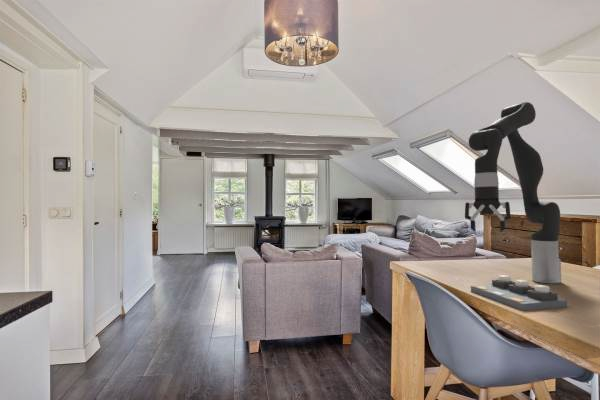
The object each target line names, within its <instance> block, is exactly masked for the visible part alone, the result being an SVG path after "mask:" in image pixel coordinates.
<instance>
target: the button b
mask: <svg viewBox="0 0 600 400" xmlns="http://www.w3.org/2000/svg"><path fill="white" fill-rule="evenodd" d="M514 282H515V286H516V287H519V288H529V286H530V283H529V281H528V280H526V279H515V281H514Z"/></svg>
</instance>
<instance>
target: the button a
mask: <svg viewBox="0 0 600 400" xmlns="http://www.w3.org/2000/svg"><path fill="white" fill-rule="evenodd" d="M511 279H512V278H511V275H506V274H499V275H497V280H498V281H499V282H502V283H510V282H511V281H512V280H511Z"/></svg>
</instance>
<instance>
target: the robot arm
mask: <svg viewBox="0 0 600 400" xmlns="http://www.w3.org/2000/svg"><path fill="white" fill-rule="evenodd" d="M536 115H537V114H536V109H535V107H534V105H533V104H532V103H531V102H528V101H526V102H520V103H517V104H514V105H510V106H507V107H505V108H503V109H502V110H501V113H500V119H497V120H495V121H493V122H492V123H491V124H489V125H488V126H486V127H482V128H480V129H478V130H475V131H474V132H473V133H472V134H470V136H469V138H468V146H469V148H470V149H471V150H473V151H475V152H480V151H486V153H485V154H484V155H482V156H479V157H477V158H475V160H474V180H473V181H474V183H473V184H474V202H469V201H468V202H465V207H464V209H465V210H464V219H466V220H469V221H470V229H471V230H472V232H476V220H475V219H476V218H477V217H478V216H479V214H480V215H496V216H497V217H498V219H499V231H500V232H504V230H505V229H506V225H505V222H506V221H507V220H510V219H511V218H512V216H511V208H510V202H509V201H506V202H504V201H503V202H501V201H500V200H499V199H500V196H499V195H500V194H499V191H500V190H499V188H500V187H499V184H500V183H499V175H498V159H499V155H500V152H501V151H500V150H501V147H502V144H503V139H505V138H506V137H507V140H508V143H509V146H510V150H511V153H512V157H513V162H514V166H515V169H516V174H517V177H518V180H519V185H520V190H521V193H522V201H523V207H524V214H525V217H526V219H527V221H528V222H530V223H531V224H537V225H538V224H540V225H541V229H539V230H538V231H537V230H536V231H533V232H532V233H531V234H530V239H531V240H530V247H531V251H530V252H531V279H532V281H533V282H537V283H542V284H552V285H553V284H559V283H562V260H561V259H560V258H559V257H560V256H559V235H560V233H561V232H560V231H561V227H560V226H561V210H560V207H559V205H558V204H557V203H556V202H554V201H540V200H539V197H538V187H539V185H540V182H541V179H542V178H543V174H544V166H543V162H542V158H541V155H540V153H539V152H538V151H537V150H536V149H535V148H534V147H533V146H531V144H529V143H528V142H526V140H524V139H523V137H522V136H521V134H520V132H519V130H518V129H520V128H522V127H525V126H528V125H531V124H532V123H534V121H535V119H536ZM500 206H501V207H502V208H503V209H505V216H503V215H502V214H501V213H500V212H499V211H498V209H500ZM473 207H474V208H475V210H476V211H475V212H474V213H473V215H472V216H470V209H472V208H473Z"/></svg>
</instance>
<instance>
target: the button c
mask: <svg viewBox="0 0 600 400" xmlns="http://www.w3.org/2000/svg"><path fill="white" fill-rule="evenodd" d="M533 287H535V292H536V293H540V294H550V292H551V290H550V289H551V288H550V286H549V285H543V284H534V286H533Z"/></svg>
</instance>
